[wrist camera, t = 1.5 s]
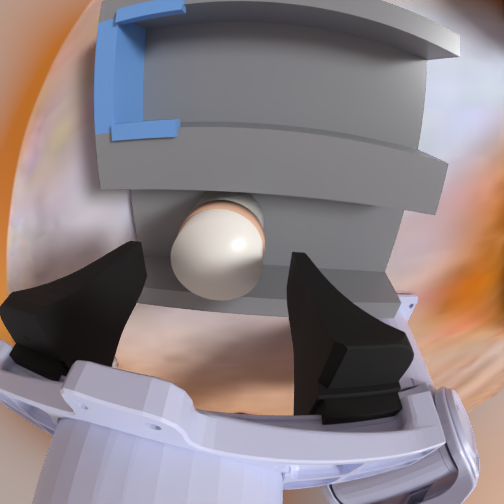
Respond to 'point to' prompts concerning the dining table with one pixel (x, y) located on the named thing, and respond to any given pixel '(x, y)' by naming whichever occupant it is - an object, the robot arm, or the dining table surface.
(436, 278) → the dining table surface
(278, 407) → the dining table surface
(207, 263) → the white button mushroom
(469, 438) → the robot arm
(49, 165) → the dining table surface
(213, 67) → the grey grooved shelf
